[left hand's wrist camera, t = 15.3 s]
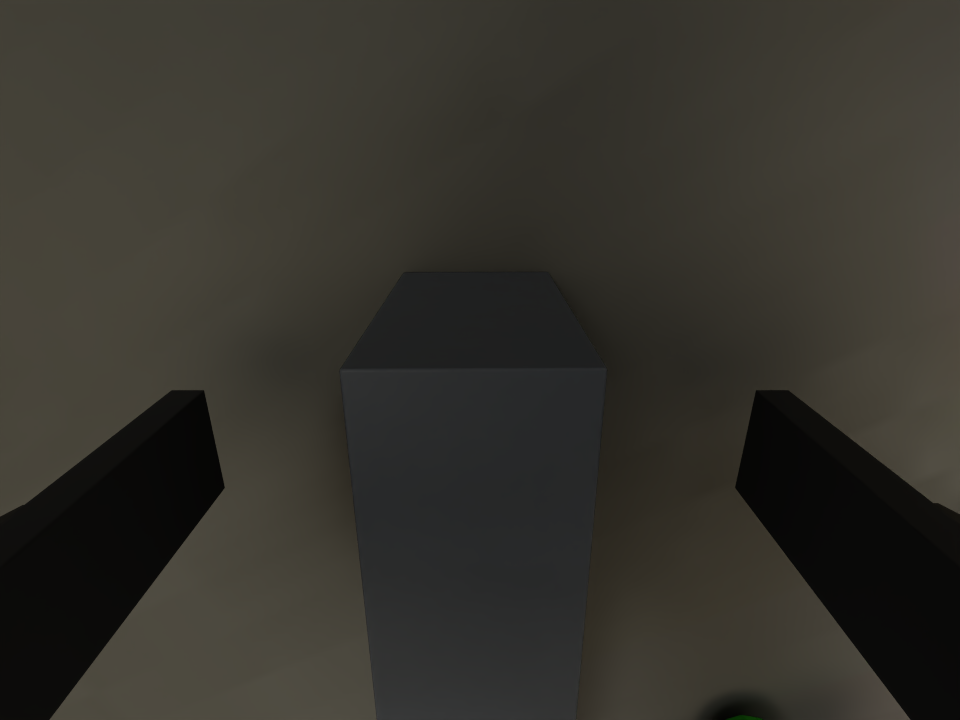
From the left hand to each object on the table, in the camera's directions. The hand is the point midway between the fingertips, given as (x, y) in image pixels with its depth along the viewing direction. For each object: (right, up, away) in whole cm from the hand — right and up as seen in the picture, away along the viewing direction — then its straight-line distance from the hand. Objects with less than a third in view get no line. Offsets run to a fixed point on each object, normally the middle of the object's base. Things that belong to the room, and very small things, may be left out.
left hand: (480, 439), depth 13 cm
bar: (0, -6, +8) cm, 10 cm away
